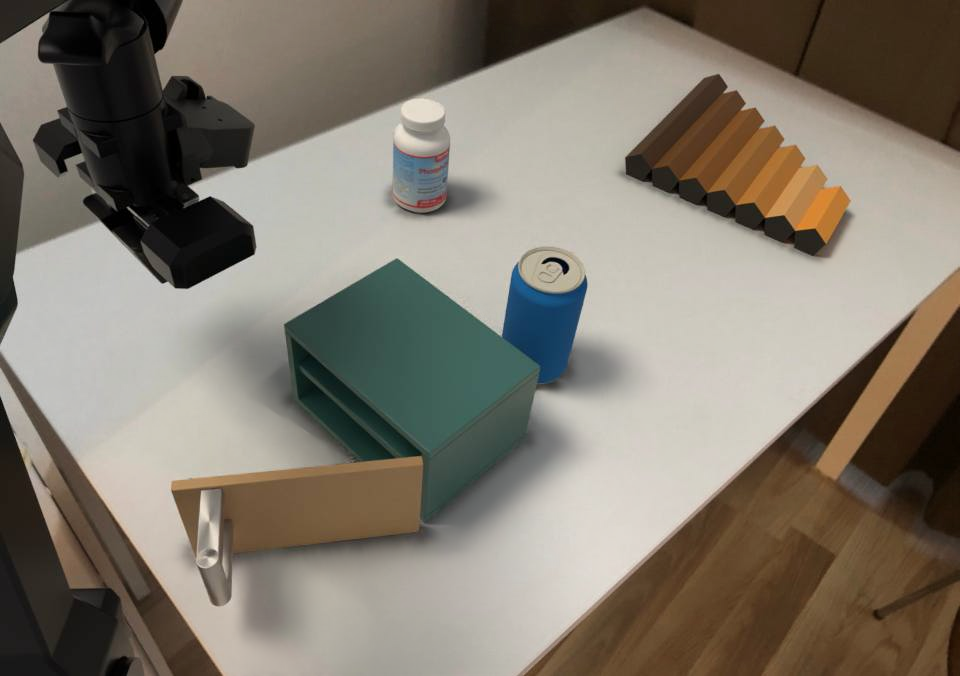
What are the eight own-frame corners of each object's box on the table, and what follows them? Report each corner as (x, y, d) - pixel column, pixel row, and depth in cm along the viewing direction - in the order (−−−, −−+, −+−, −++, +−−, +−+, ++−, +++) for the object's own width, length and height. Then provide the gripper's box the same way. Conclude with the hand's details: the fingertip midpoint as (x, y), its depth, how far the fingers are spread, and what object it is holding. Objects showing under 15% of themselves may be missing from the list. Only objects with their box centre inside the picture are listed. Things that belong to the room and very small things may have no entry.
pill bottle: (425, 222, 87) (430, 133, 79) (381, 200, 89) (381, 111, 81) (456, 195, 91) (463, 108, 83) (413, 175, 93) (416, 88, 85)
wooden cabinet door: (429, 601, 58) (434, 539, 51) (190, 633, 55) (163, 571, 48) (417, 522, 62) (422, 455, 55) (195, 548, 59) (171, 480, 52)
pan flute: (699, 91, 112) (621, 171, 97) (707, 69, 110) (627, 148, 95) (875, 159, 104) (818, 258, 89) (886, 136, 102) (831, 235, 87)
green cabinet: (424, 523, 62) (429, 453, 55) (293, 399, 69) (283, 323, 62) (525, 438, 69) (541, 366, 62) (395, 332, 76) (397, 257, 69)
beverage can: (578, 357, 76) (603, 263, 67) (545, 400, 72) (567, 307, 63) (520, 327, 78) (537, 232, 69) (485, 367, 74) (498, 272, 65)
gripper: (312, 118, 50) (326, 294, 62) (151, 6, 58) (189, 181, 70) (152, 186, 44) (199, 368, 56) (-4, 52, 52) (66, 235, 64)
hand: (165, 278), depth 61 cm, fingers closed
